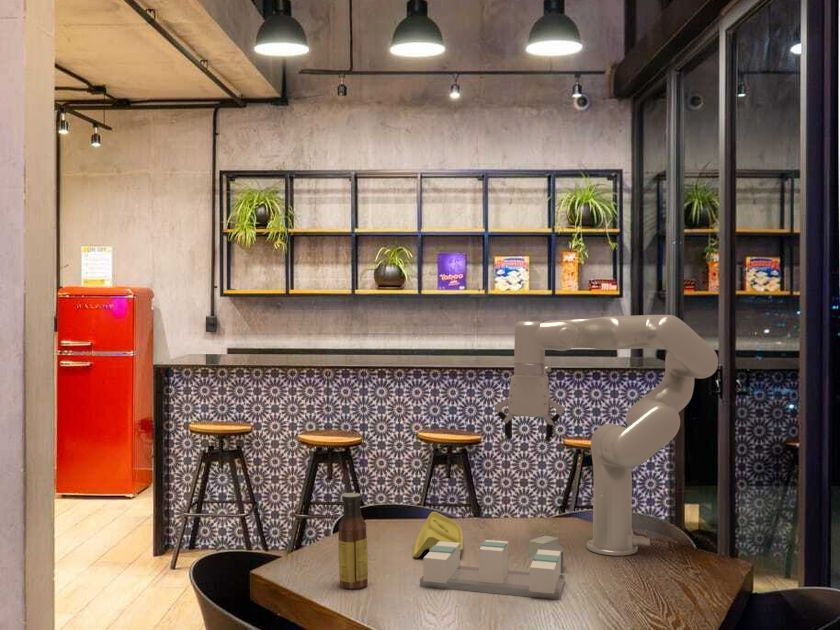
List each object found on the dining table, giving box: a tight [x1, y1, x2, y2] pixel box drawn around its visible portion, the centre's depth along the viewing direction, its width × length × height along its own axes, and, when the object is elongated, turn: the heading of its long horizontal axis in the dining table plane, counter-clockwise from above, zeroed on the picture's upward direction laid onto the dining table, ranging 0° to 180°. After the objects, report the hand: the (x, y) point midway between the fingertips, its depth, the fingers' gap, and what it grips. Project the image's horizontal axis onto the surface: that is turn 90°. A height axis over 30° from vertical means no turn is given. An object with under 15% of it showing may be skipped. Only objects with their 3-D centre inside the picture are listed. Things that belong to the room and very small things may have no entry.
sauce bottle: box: [337, 492, 369, 590], centre depth 181 cm, size 7×6×20 cm
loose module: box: [478, 539, 509, 584], centre depth 183 cm, size 5×8×7 cm, turn 165°
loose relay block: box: [540, 544, 564, 574], centre depth 194 cm, size 5×6×5 cm
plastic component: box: [412, 511, 464, 559], centre depth 210 cm, size 20×7×10 cm
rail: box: [419, 565, 566, 601], centre depth 183 cm, size 30×12×2 cm, turn 75°
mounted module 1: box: [422, 541, 461, 583], centre depth 186 cm, size 5×14×5 cm, turn 165°
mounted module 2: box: [529, 549, 562, 594], centre depth 180 cm, size 5×14×5 cm, turn 165°
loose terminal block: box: [528, 534, 560, 558], centre depth 206 cm, size 4×7×4 cm, turn 138°
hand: (528, 439), depth 207 cm, fingers open, 9 cm apart
